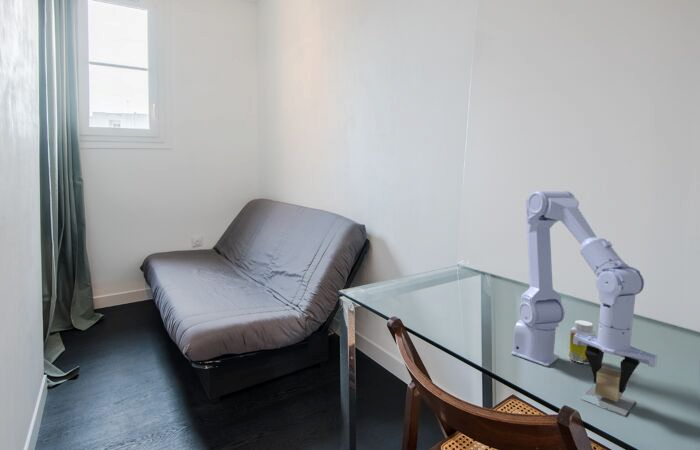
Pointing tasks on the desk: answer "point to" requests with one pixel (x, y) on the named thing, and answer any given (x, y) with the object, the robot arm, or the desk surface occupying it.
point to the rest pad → (613, 402)
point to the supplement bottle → (579, 350)
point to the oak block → (608, 383)
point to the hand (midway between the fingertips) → (609, 386)
